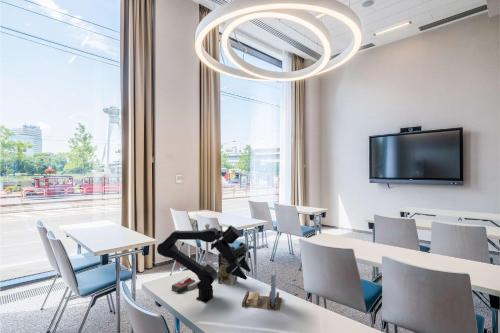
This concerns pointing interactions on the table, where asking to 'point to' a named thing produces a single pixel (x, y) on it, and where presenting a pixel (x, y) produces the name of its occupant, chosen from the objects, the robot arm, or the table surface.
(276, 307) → the rack
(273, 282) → the board
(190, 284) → the walkie-talkie
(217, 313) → the table surface
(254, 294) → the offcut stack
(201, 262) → the flag stand
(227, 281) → the coffee box
